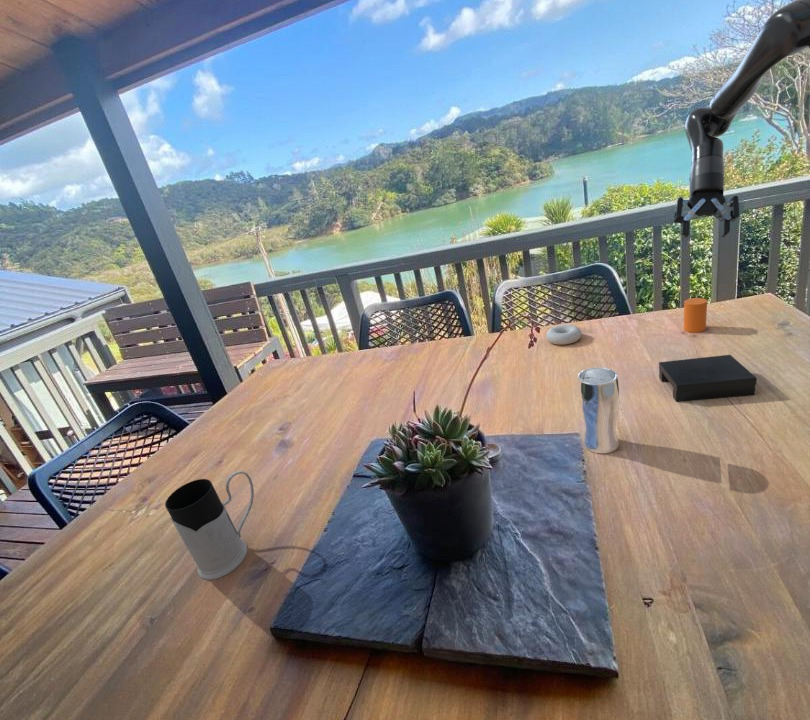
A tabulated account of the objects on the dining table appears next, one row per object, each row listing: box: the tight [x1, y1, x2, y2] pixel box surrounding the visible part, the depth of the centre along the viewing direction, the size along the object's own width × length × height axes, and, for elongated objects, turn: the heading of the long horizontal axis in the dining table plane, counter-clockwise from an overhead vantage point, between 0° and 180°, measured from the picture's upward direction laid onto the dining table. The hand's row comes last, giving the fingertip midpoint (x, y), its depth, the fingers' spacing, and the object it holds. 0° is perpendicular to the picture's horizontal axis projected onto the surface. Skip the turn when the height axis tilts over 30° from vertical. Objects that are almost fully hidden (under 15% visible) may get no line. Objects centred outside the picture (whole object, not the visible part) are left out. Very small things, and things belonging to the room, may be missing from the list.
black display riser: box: [658, 354, 758, 403], centre depth 92 cm, size 14×11×4 cm
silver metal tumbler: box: [577, 366, 621, 455], centre depth 81 cm, size 7×7×15 cm
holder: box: [164, 470, 255, 581], centre depth 77 cm, size 9×14×15 cm, turn 134°
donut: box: [545, 324, 582, 346], centre depth 129 cm, size 10×4×10 cm
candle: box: [683, 297, 708, 334], centre depth 116 cm, size 5×5×8 cm
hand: (704, 236), depth 114 cm, fingers open, 8 cm apart
